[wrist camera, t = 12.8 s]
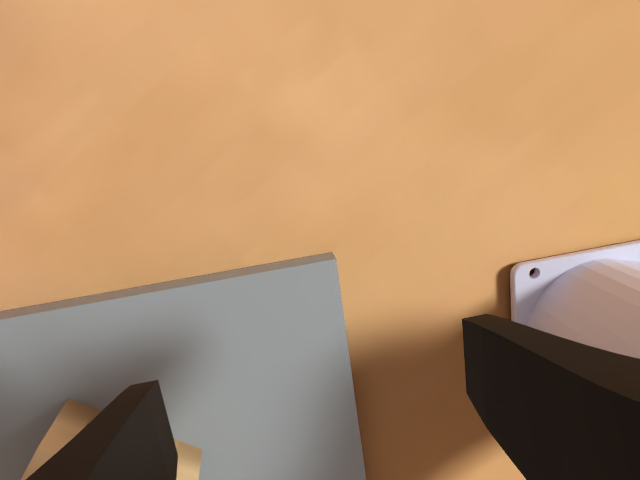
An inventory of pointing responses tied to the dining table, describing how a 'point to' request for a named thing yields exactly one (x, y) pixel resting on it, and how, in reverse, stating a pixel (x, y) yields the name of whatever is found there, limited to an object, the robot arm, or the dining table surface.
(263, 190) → the dining table surface
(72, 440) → the robot arm
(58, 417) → the link
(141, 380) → the board
